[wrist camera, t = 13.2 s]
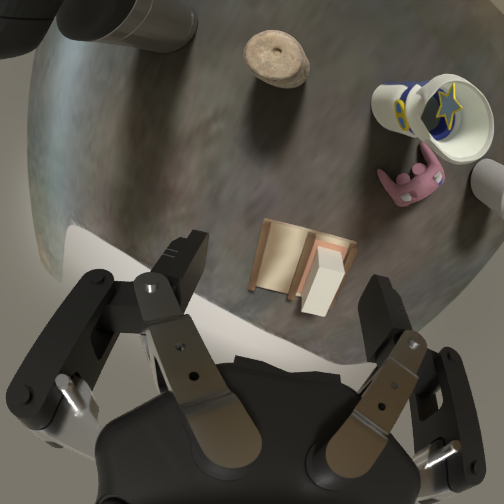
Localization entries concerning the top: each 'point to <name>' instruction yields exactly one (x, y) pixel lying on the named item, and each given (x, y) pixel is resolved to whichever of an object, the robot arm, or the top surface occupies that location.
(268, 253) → the slot rack
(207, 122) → the top surface
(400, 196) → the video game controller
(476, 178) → the can
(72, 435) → the robot arm
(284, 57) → the carving
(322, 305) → the plug block
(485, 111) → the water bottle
